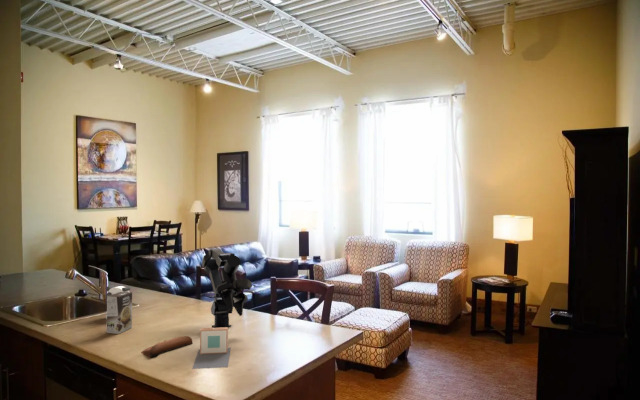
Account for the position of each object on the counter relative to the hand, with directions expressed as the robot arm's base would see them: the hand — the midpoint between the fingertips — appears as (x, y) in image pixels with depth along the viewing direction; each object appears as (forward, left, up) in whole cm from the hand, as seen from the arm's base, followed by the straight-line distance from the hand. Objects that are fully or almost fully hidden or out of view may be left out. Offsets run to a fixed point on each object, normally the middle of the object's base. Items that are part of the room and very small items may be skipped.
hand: (236, 312), depth 174 cm
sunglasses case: (-13, -23, -13) cm, 30 cm away
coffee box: (-49, -25, -12) cm, 57 cm away
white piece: (-70, -16, -12) cm, 73 cm away
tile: (+5, -14, -11) cm, 19 cm away
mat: (+9, -18, -12) cm, 23 cm away
